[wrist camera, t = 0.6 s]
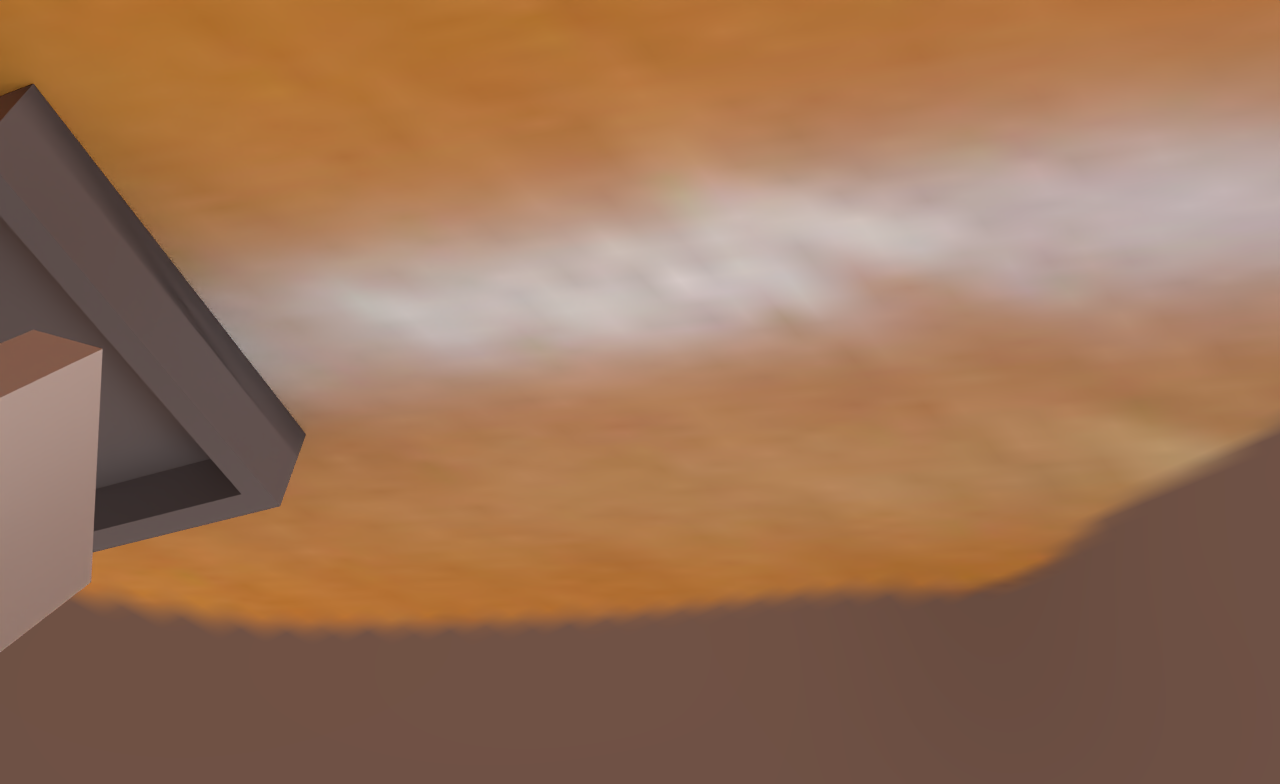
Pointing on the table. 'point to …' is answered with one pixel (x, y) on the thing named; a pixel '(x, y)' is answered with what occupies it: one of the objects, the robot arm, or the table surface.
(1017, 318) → the table surface
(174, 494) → the tray
